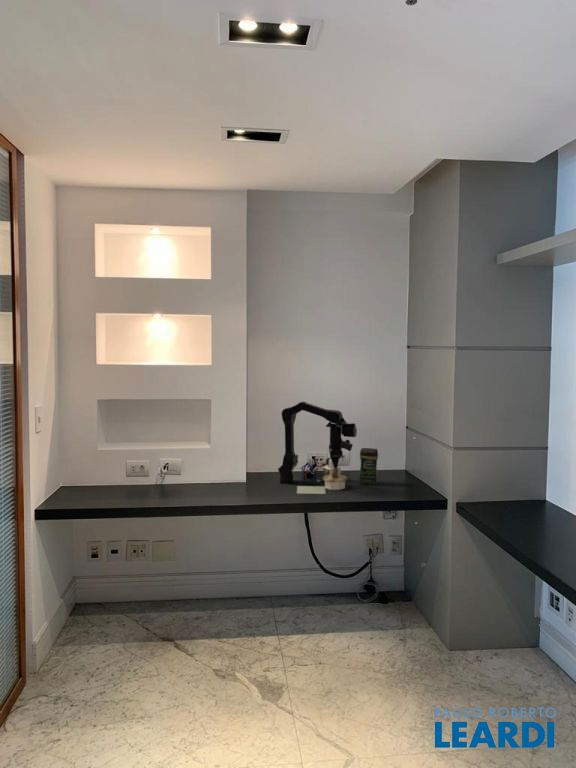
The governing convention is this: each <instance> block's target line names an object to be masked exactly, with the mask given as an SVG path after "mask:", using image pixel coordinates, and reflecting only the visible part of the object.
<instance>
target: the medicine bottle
mask: <svg viewBox="0 0 576 768" xmlns="http://www.w3.org/2000/svg"><path fill="white" fill-rule="evenodd" d="M325 460H326V461H325V463H326V464H325V466H323V467H322V477H323V476H325V475H330V474H332V469H335V468H334V465H333V463H332V460H331V457H328V458H326V459H325ZM337 469H338V475H342V474H341V473H342V472H341V469H342V468H341V467H338V466H337Z"/></svg>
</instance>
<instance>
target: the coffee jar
mask: <svg viewBox="0 0 576 768" xmlns="http://www.w3.org/2000/svg"><path fill="white" fill-rule="evenodd" d="M378 453H379V451H378V449H377V448H373V447H371V448H369V447H362V448H360V451H359V460H360V467H359V468H360V469H359V470H360V471H359V477H358V483H359V484H362V485H368V484H369V486H372V485H377V483H379V482H378V480H379V479H378V467H377V466H378V459H379V454H378Z"/></svg>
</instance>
